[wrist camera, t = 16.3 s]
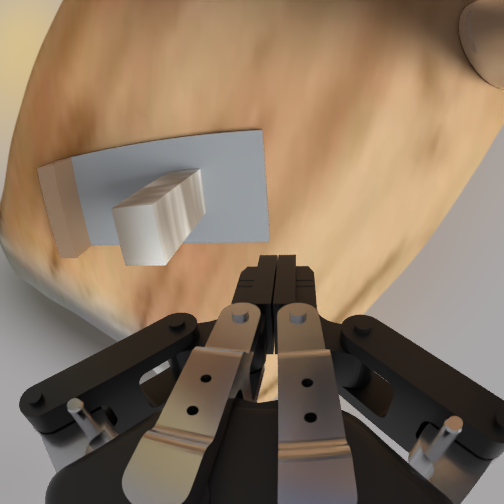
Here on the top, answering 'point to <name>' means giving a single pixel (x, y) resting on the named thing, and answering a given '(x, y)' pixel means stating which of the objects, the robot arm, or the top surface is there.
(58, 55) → the top surface
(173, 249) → the beige long rectangular block
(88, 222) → the underlay board
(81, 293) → the top surface
